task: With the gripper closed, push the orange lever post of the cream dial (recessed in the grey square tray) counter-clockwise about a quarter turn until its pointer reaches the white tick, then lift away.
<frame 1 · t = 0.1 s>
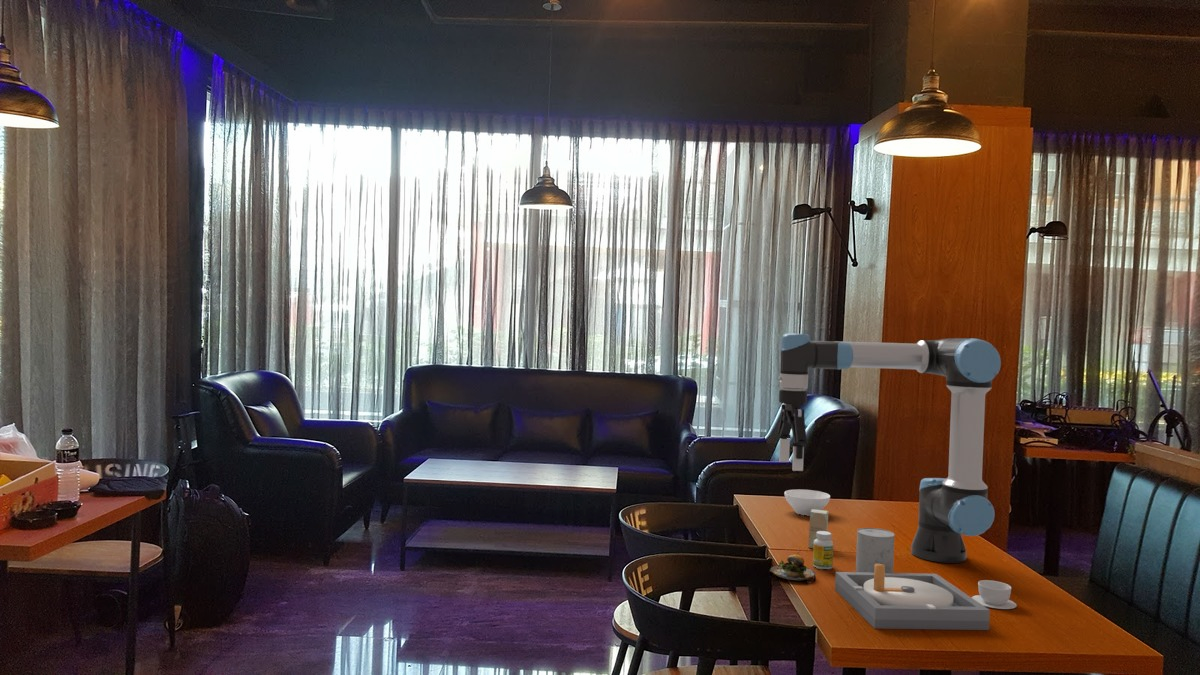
hand: (790, 466, 222), 28 cm above the table, fingers open, 13 cm apart
supplement bottle: (822, 567, 223), on the table
box: (817, 547, 244), on the table
gray speckled cylinder: (874, 578, 215), on the table
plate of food: (792, 578, 214), on the table
bowl: (806, 514, 288), on the table
grey square tray: (907, 608, 192), on the table
teacup: (993, 604, 198), on the table
dial: (908, 582, 192), point 6 cm above the table, hinge at 0.0°
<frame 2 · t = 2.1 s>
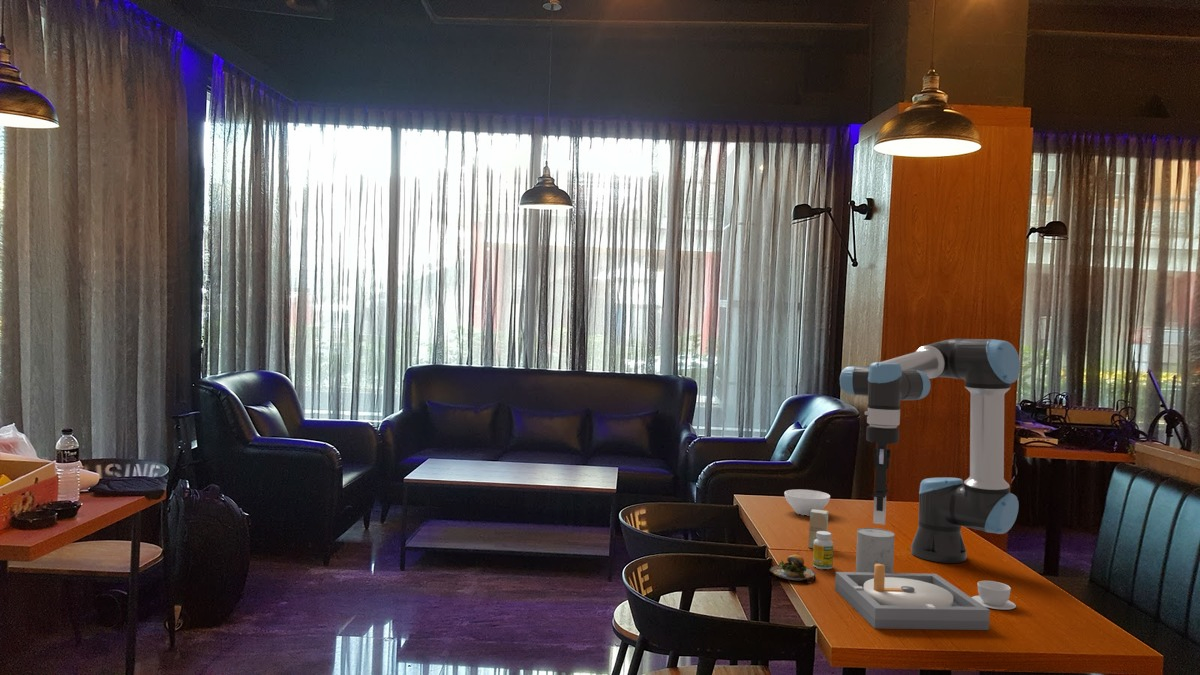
hand: (879, 521, 196), 20 cm above the table, fingers open, 4 cm apart
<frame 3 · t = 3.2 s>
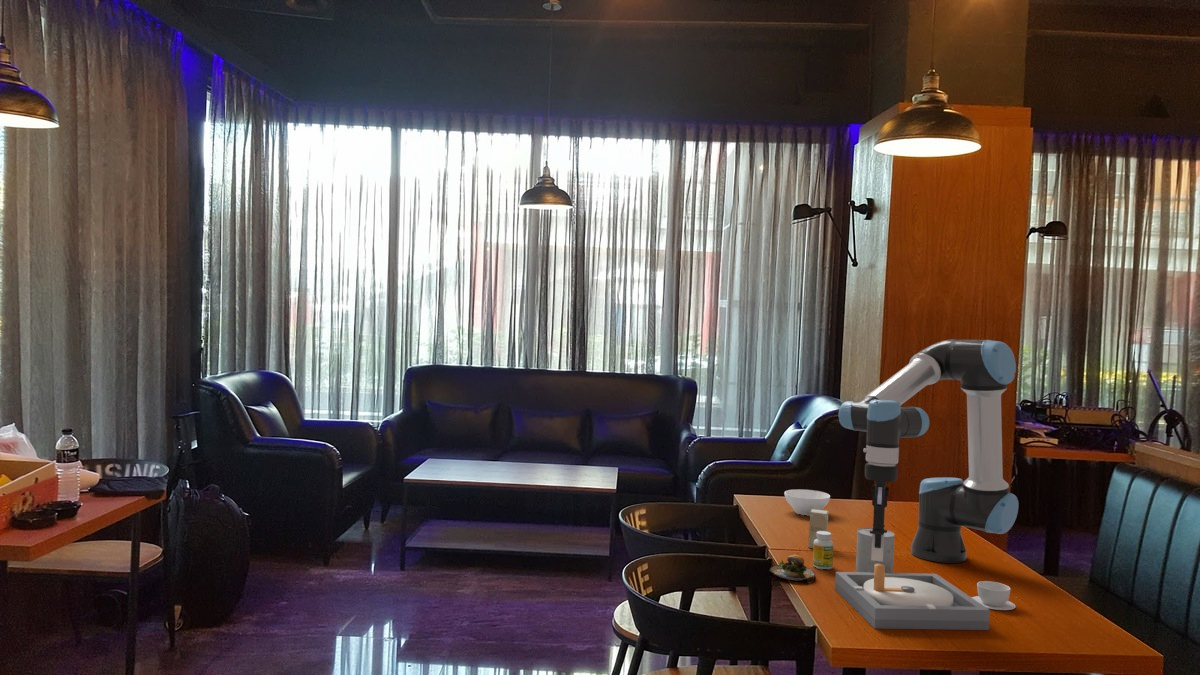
hand: (877, 560, 196), 10 cm above the table, fingers closed
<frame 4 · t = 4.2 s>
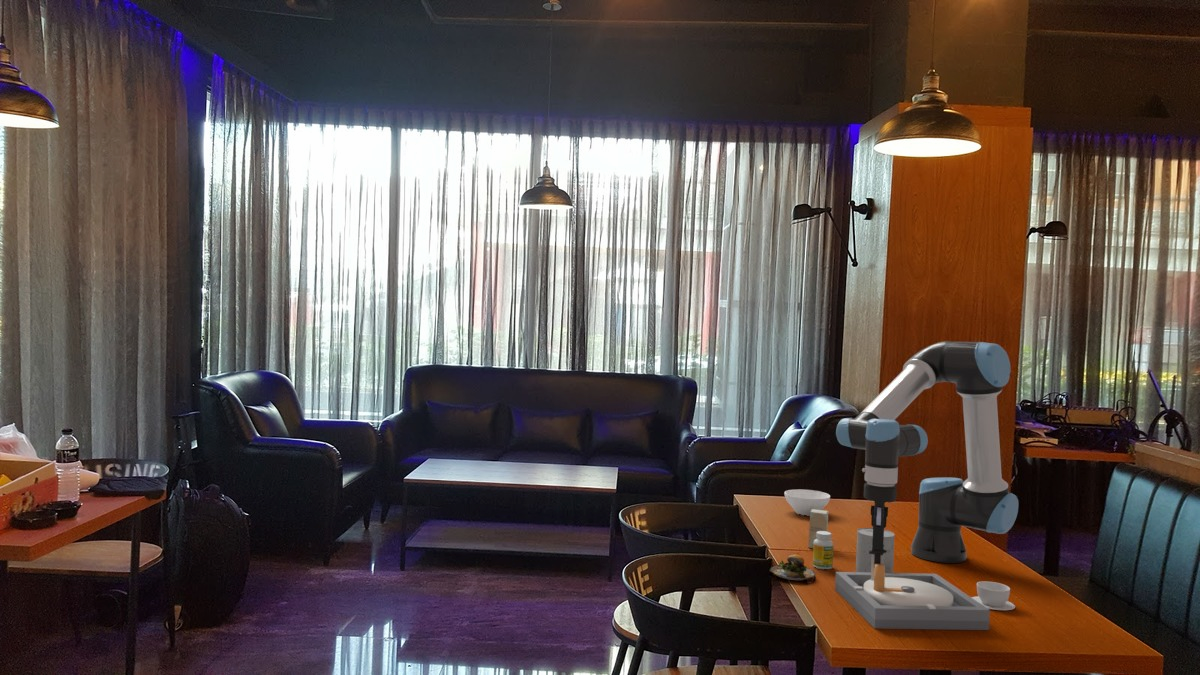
hand: (876, 580, 195), 6 cm above the table, fingers closed
dial: (908, 582, 192), point 6 cm above the table, hinge at 0.4°, touching gripper
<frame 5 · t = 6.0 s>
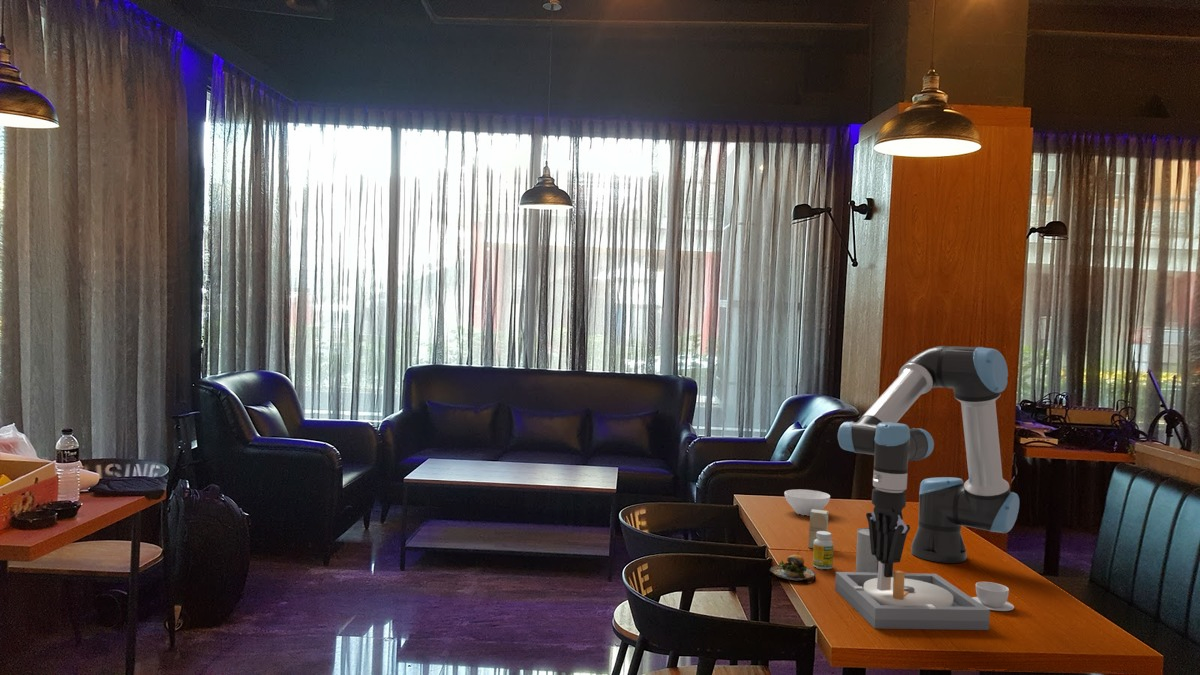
hand: (883, 589, 188), 6 cm above the table, fingers closed
dial: (908, 582, 192), point 6 cm above the table, hinge at 49.4°, touching gripper
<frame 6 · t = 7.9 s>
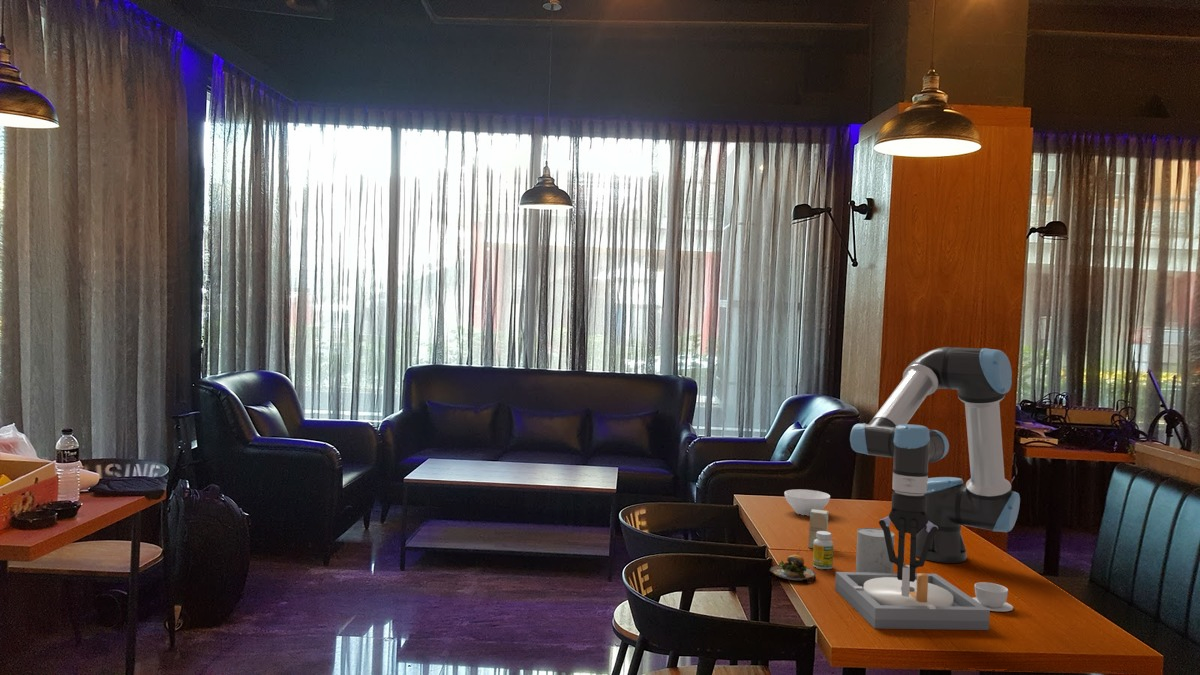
hand: (905, 594, 185), 6 cm above the table, fingers closed
dial: (908, 582, 192), point 6 cm above the table, hinge at 91.8°
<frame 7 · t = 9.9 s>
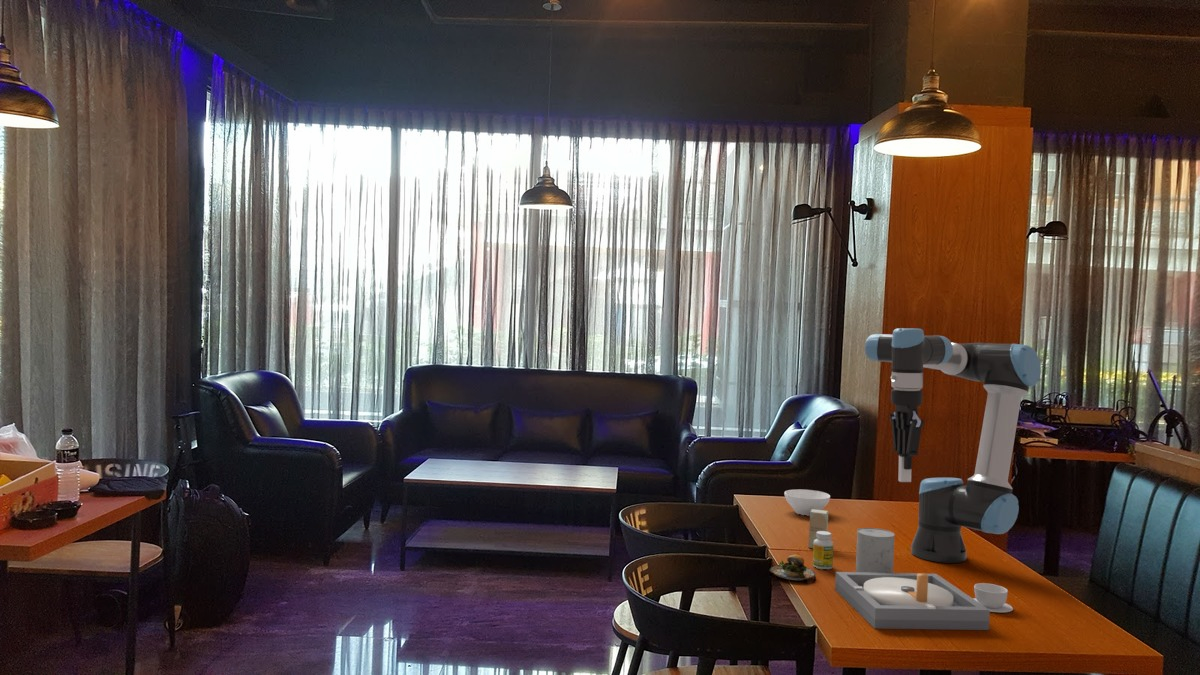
hand: (904, 481, 205), 28 cm above the table, fingers closed
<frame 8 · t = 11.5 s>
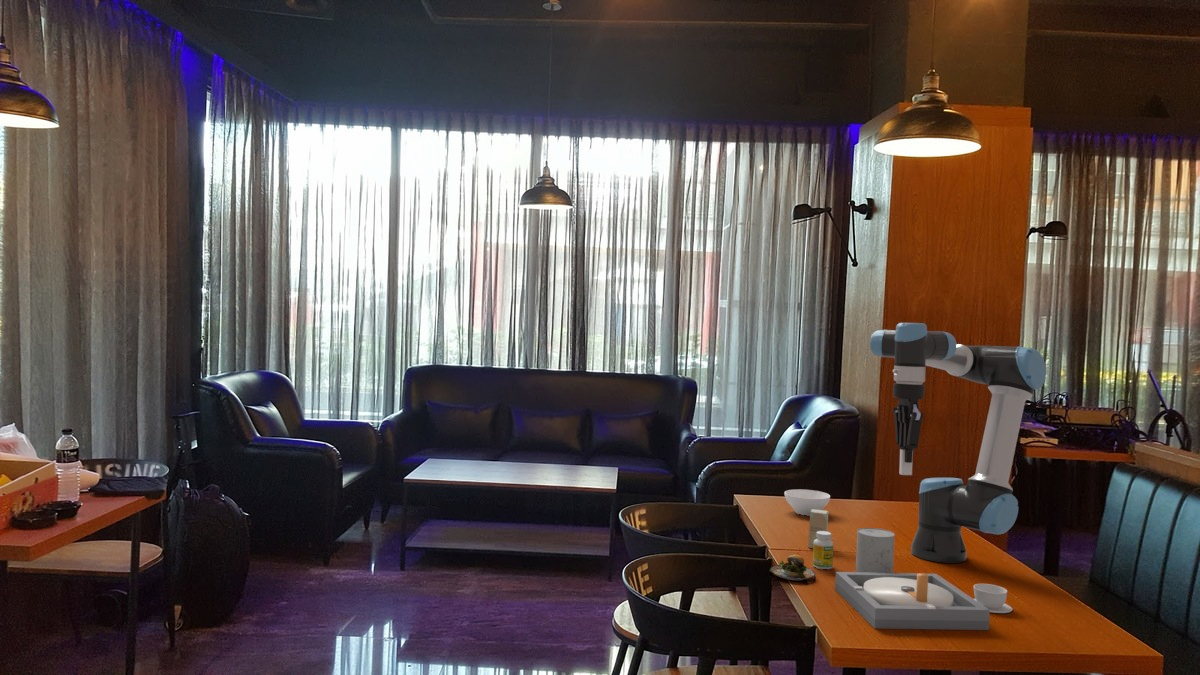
hand: (905, 474, 207), 29 cm above the table, fingers closed
at the end: dial at +92° (first picture: +0°) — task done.
